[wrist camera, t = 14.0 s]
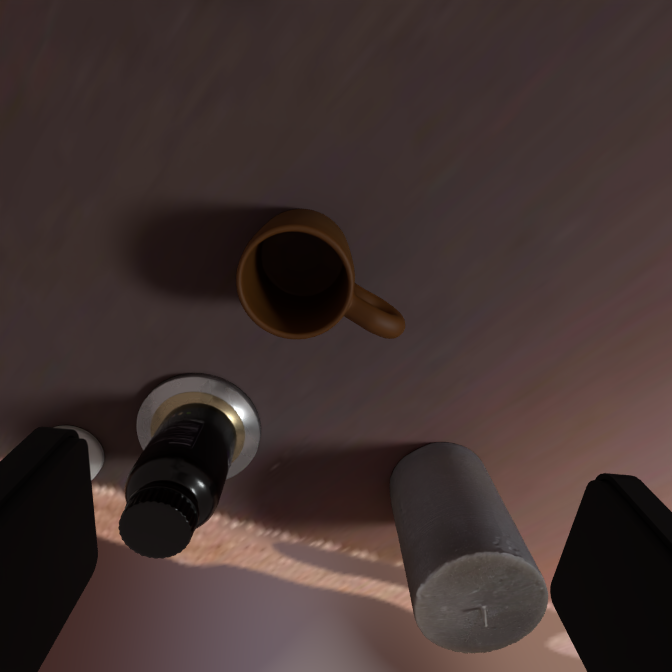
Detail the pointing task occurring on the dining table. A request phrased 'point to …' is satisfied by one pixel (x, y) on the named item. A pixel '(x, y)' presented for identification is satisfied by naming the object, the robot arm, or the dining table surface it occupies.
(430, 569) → the pillar candle
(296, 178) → the dining table surface
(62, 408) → the dining table surface
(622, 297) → the dining table surface
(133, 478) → the supplement bottle
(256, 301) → the mug
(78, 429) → the plastic flange
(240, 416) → the silver and gold coaster
